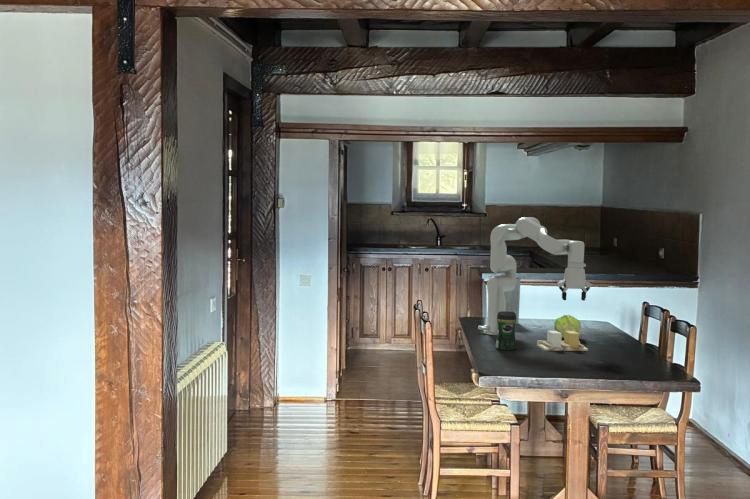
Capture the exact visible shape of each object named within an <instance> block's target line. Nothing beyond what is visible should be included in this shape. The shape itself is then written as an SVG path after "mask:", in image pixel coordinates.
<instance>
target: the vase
mask: <svg viewBox="0 0 750 499" xmlns="http://www.w3.org/2000/svg"><path fill="white" fill-rule="evenodd" d="M521 279H522V278H521V277H519V276H516V285H515V288H514V289H513V290H512V291H510V292H504V296H505V300H506V308H505V311H509V312H515V313H516V323H515V325H518V324H519V318H520V298H521V281H522V280H521Z"/></svg>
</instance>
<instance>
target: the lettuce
mask: <svg viewBox="0 0 750 499" xmlns="http://www.w3.org/2000/svg"><path fill="white" fill-rule="evenodd" d="M553 325H554V326H553V327H554V331H558V332H560V333H562V339H564V331H574V332H577V333H579V336H580V335H581V332H582V325H581V321H580V320H579V319H578V318H576V317H574V316H572V315H570V314H565V315H562V316H560V317H557V318H556V319H555V321H554V323H553Z"/></svg>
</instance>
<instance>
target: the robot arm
mask: <svg viewBox="0 0 750 499" xmlns="http://www.w3.org/2000/svg"><path fill="white" fill-rule="evenodd" d="M524 238H529V239H531V240H532V241H534V242H535V243H536V244H537V245H538V246H539V247H540V248H541V249H543V251H546V252H548V253H550V254H551V255H555V256H559V255H560V256H561V255H567V267H566V268H565V271H564V275H563V279H562V280H561V281H559V282H557V286H558V289H559V290H560V291H561V299H562V300H563V301H566V300H567V290H569V289H570V290H572V289H573V290H581V291H582V292H581V297H580V300H581V301H586V298H587V293H588V291H589V290H590V289H591V287H592V285H593V284H592V283H591V282H589V281H587V280H586V273H585V272H586V271H585V268H584V267H587V264H586V263H584V260H585V243H584V241H580V240H572V239H571V240H570V239H567V238H566V239H556V238H554V237H552V236H550V235H548V230H547V228H546V227H545V226H544V225H541V223H540V220H539V219H538V218H536V217H533V216H531V217H530V216H529V217H526V216H524V217H521V218H518V220H516V222H515V223H513V224H512V223H507V224H505V223H504V224H503V223H502V224H500V225H497V226H495V227H494V228H493V229H492V231H491V233H490V261H489V262H490V263H489V264H490V266H489V267H490V270H491V272H493V273H495V274H500V275H492V276H491V277H489V278H488V280H487V282H486V289H487V318H486V320H487V321H486V324H485V325H478V326H477V330H481V331H483V333H484V334H486V335H491V336H497V331H498V323H497V314H498V312H500V311H505V308H506V300H505V296H504V292H510V291H512V290H513V289H514V288H515V285H516V277H517V261H516V259H515V258H514V257H513V255H511V254H510V255H509V254H507V248H508V247H507V244H506V242H505V241H518V240H521V239H524Z"/></svg>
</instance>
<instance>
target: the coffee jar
mask: <svg viewBox="0 0 750 499" xmlns="http://www.w3.org/2000/svg"><path fill="white" fill-rule="evenodd" d="M497 323H498V331H497V335H496V338H495V348H496V349H497V350H501V351H514V350H515V349H516V345H517V344H516V328H515V326H516V324H515V323H516V313H515V312H509V311H500V312H498V314H497Z"/></svg>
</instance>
